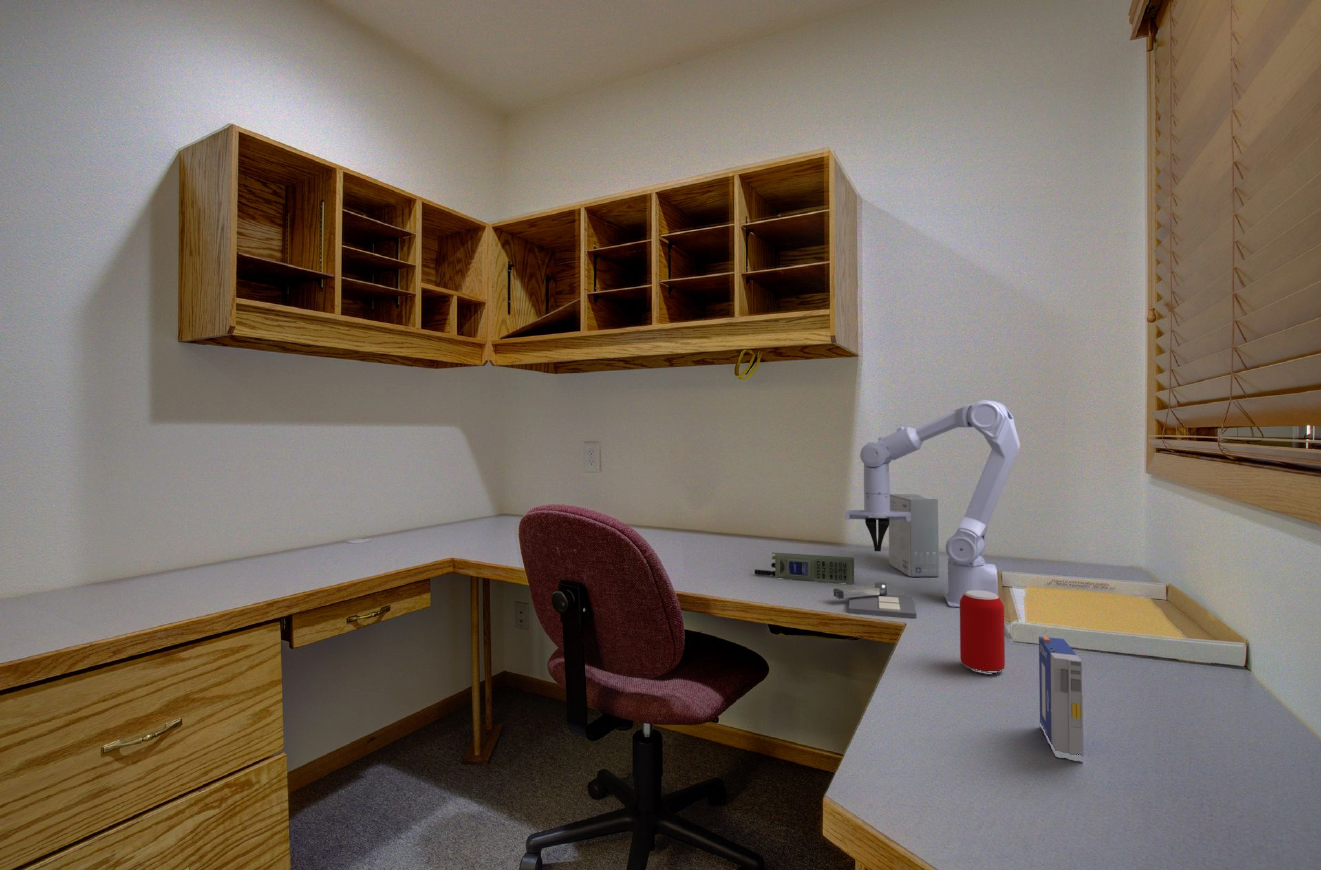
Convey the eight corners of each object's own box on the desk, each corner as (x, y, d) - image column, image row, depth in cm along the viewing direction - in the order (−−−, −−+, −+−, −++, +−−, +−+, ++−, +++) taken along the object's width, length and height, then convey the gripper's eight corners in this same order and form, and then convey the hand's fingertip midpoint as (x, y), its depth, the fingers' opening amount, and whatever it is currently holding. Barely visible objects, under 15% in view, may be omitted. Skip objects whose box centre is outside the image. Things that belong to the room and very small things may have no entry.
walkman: (1039, 727, 76) (1038, 633, 76) (1065, 730, 75) (1064, 636, 75) (1055, 759, 69) (1054, 655, 69) (1083, 763, 68) (1082, 658, 68)
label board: (912, 600, 132) (912, 594, 132) (916, 618, 120) (916, 612, 120) (850, 596, 137) (850, 590, 137) (848, 613, 124) (848, 606, 124)
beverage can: (1004, 680, 91) (1003, 601, 90) (958, 672, 94) (957, 596, 94) (1005, 666, 96) (1004, 591, 96) (962, 659, 99) (961, 586, 99)
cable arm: (889, 595, 132) (889, 584, 132) (839, 599, 129) (839, 589, 129) (882, 592, 135) (882, 581, 135) (833, 596, 132) (833, 586, 132)
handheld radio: (853, 586, 146) (753, 578, 156) (854, 583, 149) (756, 575, 159) (853, 558, 146) (752, 552, 156) (854, 556, 150) (755, 550, 159)
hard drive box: (940, 577, 152) (939, 499, 152) (909, 578, 152) (908, 499, 152) (915, 563, 168) (914, 492, 167) (887, 564, 168) (887, 493, 168)
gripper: (908, 491, 142) (909, 548, 143) (845, 490, 147) (846, 545, 147) (910, 495, 136) (911, 554, 136) (844, 493, 141) (845, 551, 141)
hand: (877, 550), depth 141 cm, fingers closed
